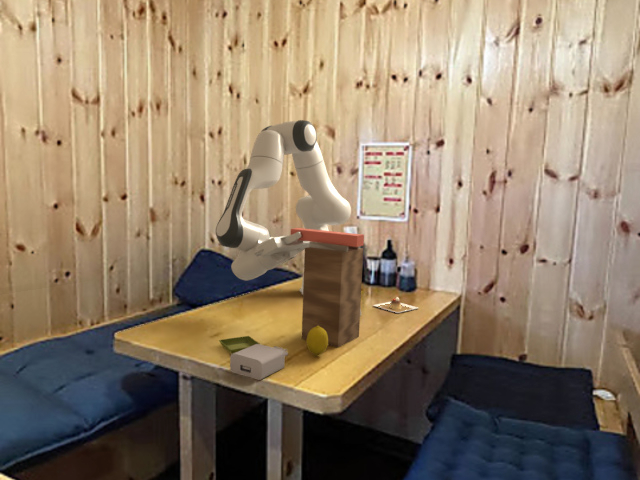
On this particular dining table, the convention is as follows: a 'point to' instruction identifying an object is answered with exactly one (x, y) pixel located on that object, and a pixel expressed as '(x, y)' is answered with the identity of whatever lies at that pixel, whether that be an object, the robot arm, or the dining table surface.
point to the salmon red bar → (330, 237)
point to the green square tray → (238, 343)
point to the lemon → (317, 340)
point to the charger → (258, 361)
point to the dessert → (396, 305)
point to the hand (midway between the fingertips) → (306, 233)
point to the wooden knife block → (332, 291)
